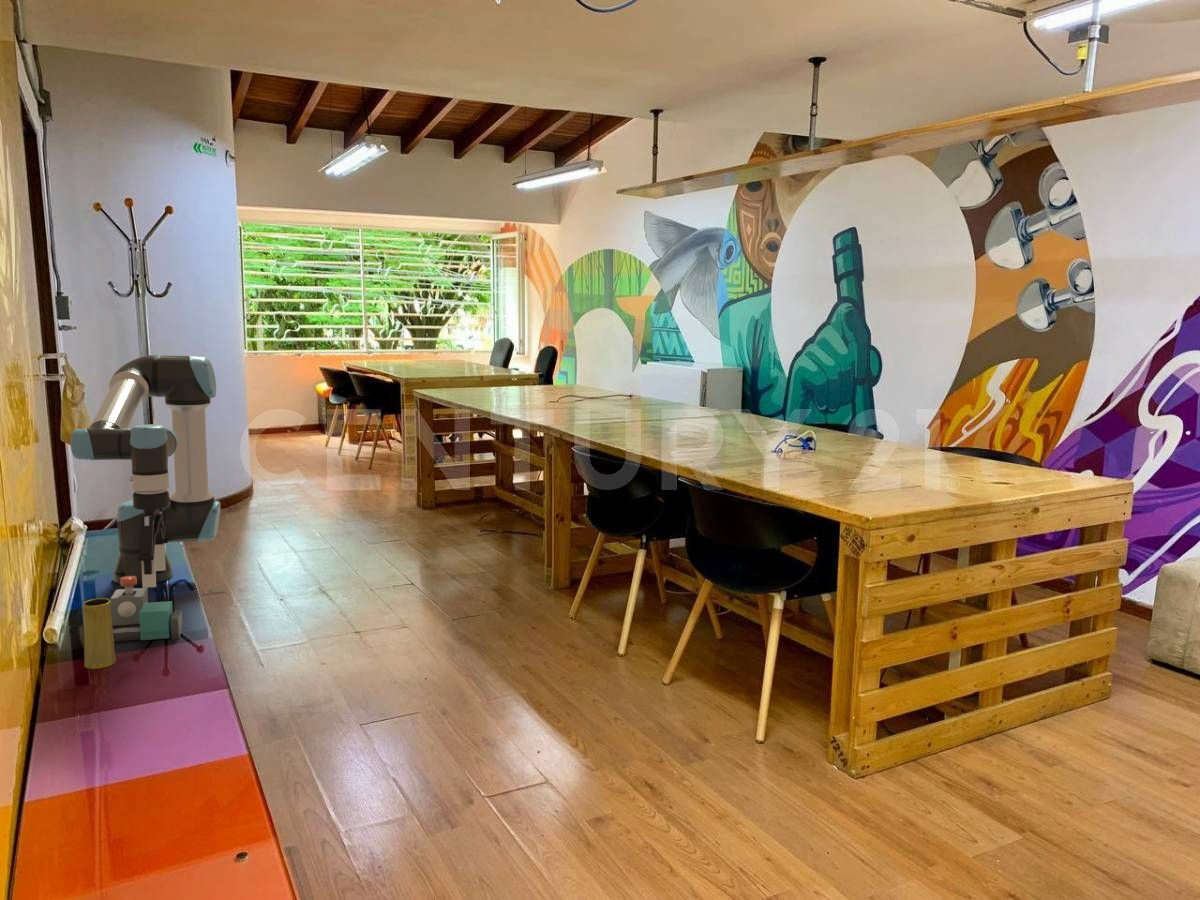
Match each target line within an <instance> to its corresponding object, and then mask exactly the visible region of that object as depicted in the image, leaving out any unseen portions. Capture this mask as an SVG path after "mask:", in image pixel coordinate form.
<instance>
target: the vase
mask: <svg viewBox="0 0 1200 900" xmlns="http://www.w3.org/2000/svg"><path fill="white" fill-rule="evenodd" d="M82 613H83V628H84V630H83V631H84V633H83V634H84V646H83V647H84V648H83V649H84V653H83V655H84V663H83V667H84V668H86V669H88V670H89V669H90V670H100V669H104V668H109V667H111V666H113V665H115V664H116V662H117V659H116V650H115V641H114V638H113V629H114V628H113V627H114V626H112V617H111V600H110V599H109V598H106V597H104V598H103V597H101V598H100V597H99V598H92V599H88V600H86V601H84V602H83V603H82Z"/></svg>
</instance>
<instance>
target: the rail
mask: <svg viewBox="0 0 1200 900" xmlns="http://www.w3.org/2000/svg"><path fill="white" fill-rule="evenodd" d="M182 611H183V610H182V609H179V610H174V611H173V615H172V617H171V626H170V637H169V638H171V640H178V639H180V637H181V634H182V632H183V613H182ZM113 638H114V642H121V641H135V640H137V641H138V640H141V633H140V626H136V627H121V628H113Z"/></svg>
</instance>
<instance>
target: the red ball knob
mask: <svg viewBox="0 0 1200 900" xmlns="http://www.w3.org/2000/svg"><path fill="white" fill-rule="evenodd" d="M120 582H121V584H120V587H124V589H125V595H133V589H134V586H137V585H136V584H137V577H136V576H126V577H122V578H120Z"/></svg>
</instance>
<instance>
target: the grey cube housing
mask: <svg viewBox="0 0 1200 900" xmlns="http://www.w3.org/2000/svg"><path fill="white" fill-rule="evenodd" d="M110 601H111V617H112V627H115V626H128V625H138V624H139V625H140V619H139V612H140V610H141V609H142V607H143V605H144V603H149V594H148V588H143V587H138V588H137V587H135V588H133V595H125V588H123V589H122V588H121V589H116V590H115V591H114V592H113V594H112V595H111V597H110Z"/></svg>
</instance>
